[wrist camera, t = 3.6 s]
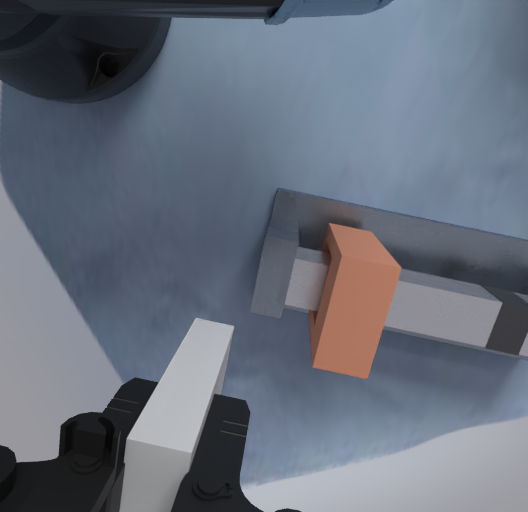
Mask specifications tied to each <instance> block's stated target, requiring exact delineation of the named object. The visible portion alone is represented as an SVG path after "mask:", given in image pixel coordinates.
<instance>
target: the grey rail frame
mask: <svg viewBox="0 0 528 512" xmlns="http://www.w3.org/2000/svg"><path fill="white" fill-rule="evenodd" d="M329 223H332V224H337V225H342V226H347V227H351V228H356V229H361V230H366V231H370V232H372V233H373V234H374V235H375V237H376V238H377V239H378V240H379V241H380V243H381V244H382V245H383V246H384V247H385V249H386V250H387V251H388V252H389V253H390V255H391V256H392V257H393V258H394V259H395V261H396V262H397V263H398V264H399V265H400V267H401V268H402V269H401V272H400V276H399V279H398V282H397V285H396V289H395V292H394V295H393V298H392V301H391V305H390V308H389V311H388V314H387V317H386V321H385V324H384V327H383V330H388V331H393V332H397V333H402V334H407V335H411V336H416V337H421V338H425V339H430V340H435V341H439V342H444V343H449V344H453V345H458V346H463V347H467V348H472V349H477V350H481V351H486V352H491V353H495V354H500V355H505V356H509V357H514V358H519V359H523V360H528V240H525V239H520V238H515V237H510V236H505V235H501V234H496V233H491V232H486V231H481V230H477V229H472V228H467V227H462V226H458V225H453V224H448V223H443V222H438V221H434V220H429V219H424V218H419V217H414V216H410V215H405V214H400V213H395V212H390V211H386V210H381V209H376V208H371V207H367V206H362V205H357V204H352V203H347V202H343V201H338V200H333V199H328V198H323V197H319V196H314V195H309V194H304V193H300V192H295V191H290V190H285V189H280V188H278V189H277V193H276V198H275V203H274V207H273V212H272V217H271V220H270V223H269V226H268V229H267V232H266V235H265V240H264V245H263V250H262V255H261V260H260V265H259V269H258V274H257V279H256V284H255V289H254V294H253V299H252V304H251V309H250V312H251V313H256V314H260V315H265V316H270V317H274V318H279V319H281V318H282V313H283V309H284V308H285V309H290V310H295V311H299V312H304V313H308V310H313V311H318V310H319V306H320V302H321V299H322V295H323V291H324V287H325V283H326V279H327V275H328V271H329V267H330V264H331V260H332V256H331V254H330V253H325V252H322V248H323V244H324V240H325V236H326V232H327V228H328V224H329Z"/></svg>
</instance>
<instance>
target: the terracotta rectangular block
mask: <svg viewBox="0 0 528 512" xmlns="http://www.w3.org/2000/svg"><path fill="white" fill-rule="evenodd" d="M322 252H325V253H330V254H331V256H332V260H331V264H330V267H329V271H328V275H327V279H326V283H325V287H324V291H323V295H322V299H321V302H320V306H319V310H318V311H313V310H308V313H309V326H310V340H311V353H312V367H313V368H318V369H322V370H327V371H332V372H336V373H341V374H346V375H350V376H355V377H359V378H364V379H368V375H369V372H370V369H371V366H372V363H373V359H374V356H375V353H376V350H377V346H378V343H379V340H380V337H381V334H382V330H383V327H384V324H385V321H386V317H387V314H388V311H389V308H390V305H391V301H392V298H393V295H394V292H395V289H396V285H397V282H398V279H399V276H400V272H401V269H402V268H401V267H400V265H399V264H398V263H397V262H396V261H395V259H394V258H393V257H392V256H391V255H390V253H389V252H388V251H387V250H386V249H385V247H384V246H383V245H382V244H381V243H380V241H379V240H378V239H377V238H376V237H375V235H374V234H373V233H372V232H370V231H366V230H361V229H356V228H351V227H347V226H342V225H337V224H332V223H329V224H328V228H327V232H326V236H325V240H324V244H323V248H322Z"/></svg>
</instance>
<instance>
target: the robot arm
mask: <svg viewBox="0 0 528 512" xmlns="http://www.w3.org/2000/svg"><path fill="white" fill-rule="evenodd" d="M392 1H393V0H0V80H2V81H3V82H5V83H7V84H8V85H10V86H12V87H14V88H16V89H18V90H20V91H23V92H25V93H27V94H30V95H33V96H36V97H40V98H44V99H49V100H55V101H61V102H67V103H89V102H95V101H99V100H103V99H106V98H109V97H112V96H114V95H116V94H118V93H120V92H122V91H123V90H125V89H126V88H128V87H129V86H131V85H132V84H133V83H135V82H136V81H137V80H138V79H139V78H140V77H141V76H142V75H143V74H144V73H145V72H146V71H147V69H148V68H149V67H150V65H151V64H152V63H153V61H154V60H155V58H156V57H157V55H158V53H159V51H160V49H161V47H162V45H163V43H164V40H165V37H166V35H167V32H168V28H169V25H170V20H171V17H178V18H231V19H264V21H265V24H269V25H278V24H282V23H284V22H285V21H287V20H288V19H289V18H295V17H318V16H341V15H362V14H366V13H370V12H374V11H376V10H379V9H381V8H383V7H385V6H387V5H388V4H389V3H391V2H392ZM233 331H234V326H231V325H227V324H222V323H217V322H213V321H208V320H203V319H199V318H196V319H195V320H194V322H193V324H192V326H191V327H190V329H189V331H188V333H187V334H186V336H185V338H184V339H183V341H182V343H181V345H180V346H179V348H178V350H177V352H176V353H175V355H174V357H173V359H172V360H171V362H170V364H169V366H168V367H167V369H166V371H165V373H164V374H163V376H162V378H161V380H160V381H159V383H158V382H154V381H149V380H145V379H140V378H133V379H132V380H130V381H128V382H127V383H125V384H123V385H122V386H121V387H120V389H119V390H118V392H117V393H116V394H115V396H114V398H113V399H112V400H111V401H110V403H109V404H108V405H107V408H105V410H104V411H103V413H98V412H89V413H82V414H79V415H76V416H74V417H72V418H69V419H68V420H67V421H66V422H64V423H63V424H62V425H61V430H60V445H59V456H58V457H57V458H56V459H52V460H47V461H39V462H19V463H16V457H15V454H14V452H13V451H11V450H10V449H9V448H8V447H5V446H1V445H0V512H263V511H261V510H259V509H258V508H257V507H255V506H254V505H252V504H251V503H250V502H249V501H248V499H247V498H246V497H245V496H244V494H243V492H242V490H241V487H240V471H241V465H242V459H243V453H244V447H245V441H246V435H247V430H248V424H249V418H250V410H249V408H248V405H247V403H246V400H241V399H237V398H232V397H227V396H223V395H220V394H221V391H222V387H223V382H224V377H225V372H226V367H227V362H228V357H229V351H230V346H231V341H232V336H233ZM275 512H301V511H299V510H293V509H282V510H277V511H275Z"/></svg>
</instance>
